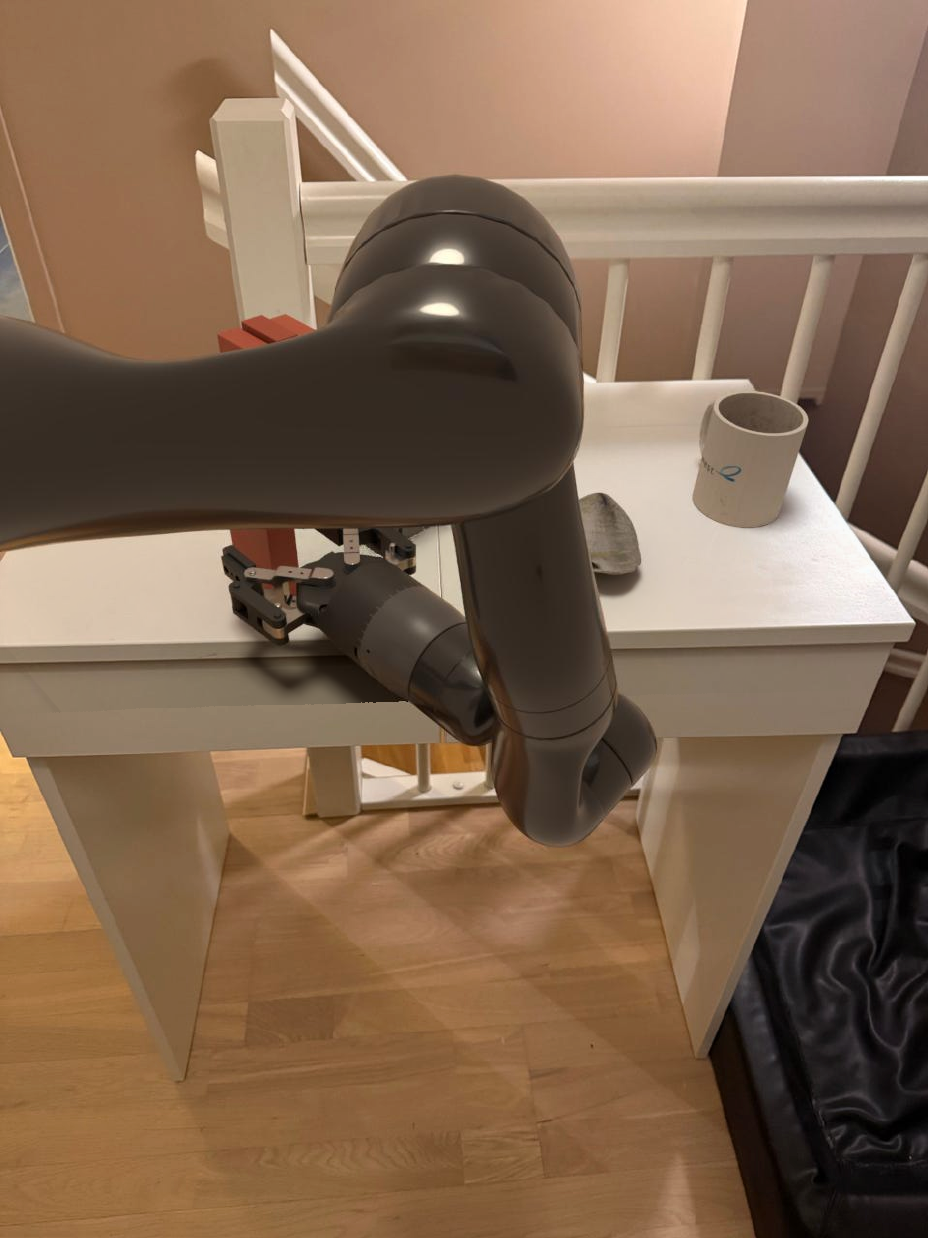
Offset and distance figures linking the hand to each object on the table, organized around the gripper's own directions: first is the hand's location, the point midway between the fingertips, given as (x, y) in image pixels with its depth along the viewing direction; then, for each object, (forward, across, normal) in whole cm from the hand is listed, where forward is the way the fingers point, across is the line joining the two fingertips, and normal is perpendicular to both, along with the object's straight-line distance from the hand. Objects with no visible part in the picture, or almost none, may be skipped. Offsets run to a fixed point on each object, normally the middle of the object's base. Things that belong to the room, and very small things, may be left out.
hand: (271, 534), depth 73 cm
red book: (+2, 0, +6) cm, 6 cm away
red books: (+25, -18, +6) cm, 31 cm away
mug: (-18, -43, +6) cm, 47 cm away
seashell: (-15, -24, +6) cm, 29 cm away
